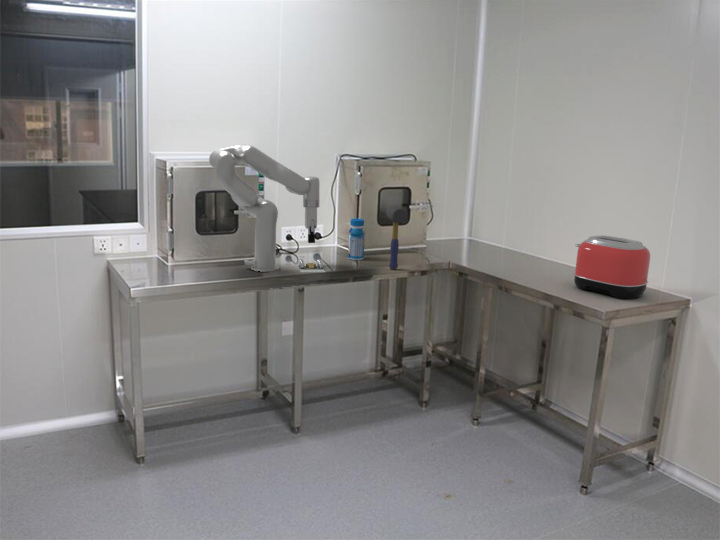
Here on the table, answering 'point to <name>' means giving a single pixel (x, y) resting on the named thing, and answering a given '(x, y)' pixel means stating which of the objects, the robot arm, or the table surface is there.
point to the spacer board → (311, 269)
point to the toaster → (612, 266)
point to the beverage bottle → (356, 240)
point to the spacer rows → (319, 264)
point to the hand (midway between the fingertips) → (311, 242)
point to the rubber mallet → (395, 232)
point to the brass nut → (311, 265)
